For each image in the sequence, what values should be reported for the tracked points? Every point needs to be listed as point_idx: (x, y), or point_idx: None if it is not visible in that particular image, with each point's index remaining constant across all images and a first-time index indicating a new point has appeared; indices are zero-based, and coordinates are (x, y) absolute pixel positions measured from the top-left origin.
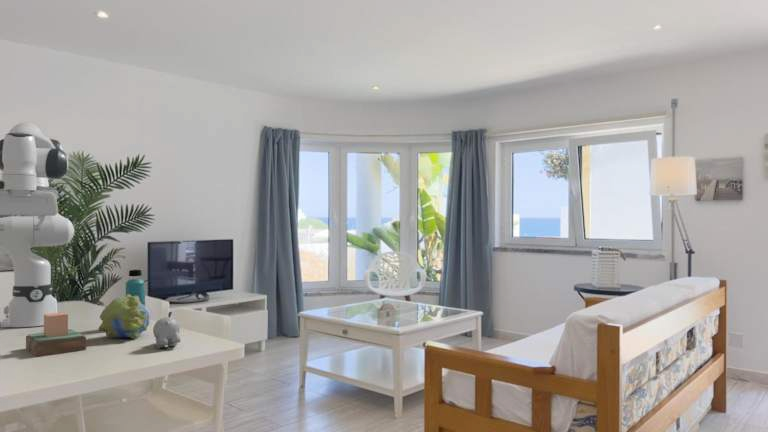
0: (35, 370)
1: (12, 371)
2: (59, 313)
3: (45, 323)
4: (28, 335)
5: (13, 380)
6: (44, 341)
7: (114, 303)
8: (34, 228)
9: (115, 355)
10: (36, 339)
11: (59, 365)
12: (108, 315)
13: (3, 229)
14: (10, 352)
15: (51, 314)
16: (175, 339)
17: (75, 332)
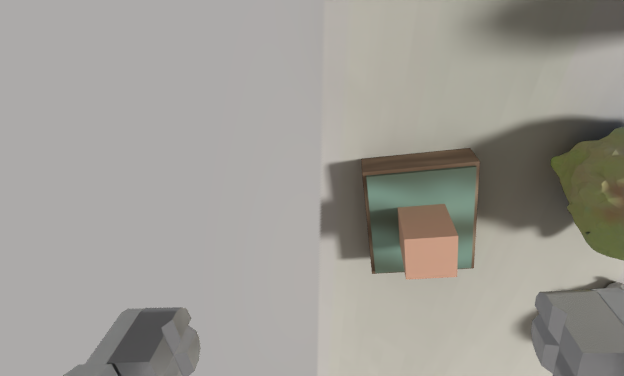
0: (356, 339)
1: (326, 327)
2: (442, 251)
3: (402, 242)
4: (366, 181)
5: (325, 368)
6: (386, 271)
7: (622, 251)
8: (548, 325)
9: (490, 323)
10: (375, 250)
11: (392, 332)
12: (580, 228)
13: (194, 358)
14: (328, 182)
15: (420, 256)
16: None
17: (469, 219)
